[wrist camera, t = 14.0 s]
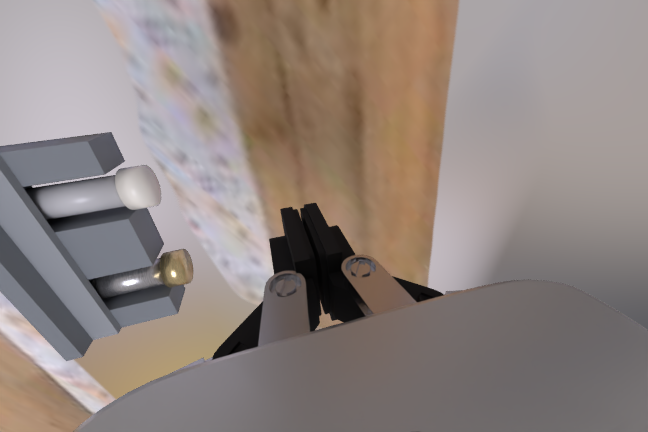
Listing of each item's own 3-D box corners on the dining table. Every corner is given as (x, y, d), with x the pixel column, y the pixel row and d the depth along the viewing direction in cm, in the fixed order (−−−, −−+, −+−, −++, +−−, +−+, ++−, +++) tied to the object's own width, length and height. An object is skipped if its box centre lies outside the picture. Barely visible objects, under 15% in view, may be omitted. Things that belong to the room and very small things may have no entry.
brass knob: (87, 262, 29) (66, 286, 26) (184, 242, 31) (176, 262, 27) (105, 288, 31) (87, 314, 28) (195, 268, 33) (189, 290, 29)
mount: (-17, 148, 23) (-112, 173, 17) (111, 132, 24) (66, 149, 18) (100, 308, 32) (66, 361, 26) (185, 288, 34) (171, 333, 28)
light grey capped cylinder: (30, 177, 24) (-6, 193, 21) (149, 160, 26) (134, 172, 23) (55, 215, 26) (26, 235, 23) (164, 196, 28) (153, 212, 25)
